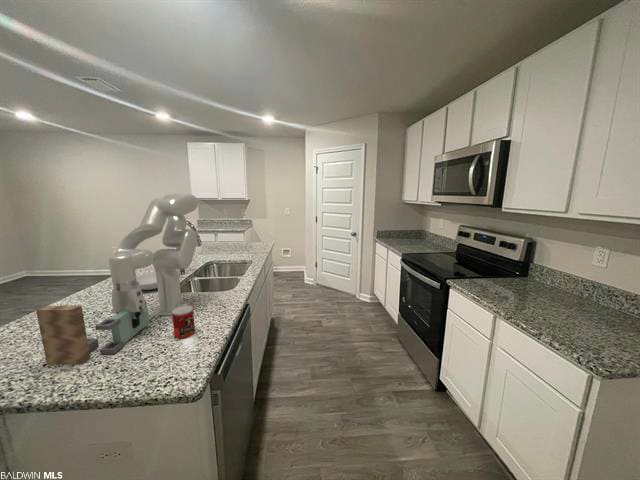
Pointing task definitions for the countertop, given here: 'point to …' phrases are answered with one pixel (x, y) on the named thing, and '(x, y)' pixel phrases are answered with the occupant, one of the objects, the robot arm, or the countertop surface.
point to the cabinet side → (64, 335)
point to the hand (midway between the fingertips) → (131, 326)
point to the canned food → (183, 322)
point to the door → (121, 329)
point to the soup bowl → (147, 281)
